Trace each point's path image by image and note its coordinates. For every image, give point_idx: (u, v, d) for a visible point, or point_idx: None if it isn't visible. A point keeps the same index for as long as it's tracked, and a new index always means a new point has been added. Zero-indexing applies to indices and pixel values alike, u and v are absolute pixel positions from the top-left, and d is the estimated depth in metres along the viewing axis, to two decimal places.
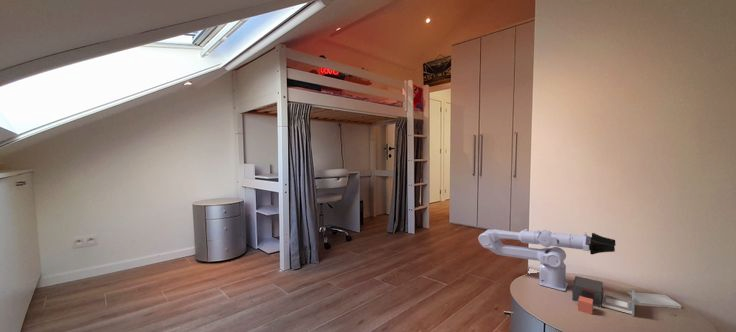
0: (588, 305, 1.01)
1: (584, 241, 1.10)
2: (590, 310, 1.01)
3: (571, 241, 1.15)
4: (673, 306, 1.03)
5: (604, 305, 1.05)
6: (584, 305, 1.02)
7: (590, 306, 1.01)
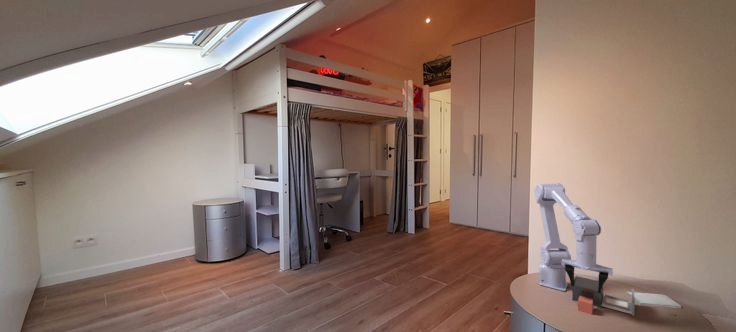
0: (588, 305, 1.01)
1: (571, 263, 1.04)
2: (590, 310, 1.01)
3: (576, 252, 1.03)
4: (673, 306, 1.03)
5: (604, 305, 1.05)
6: (583, 305, 1.02)
7: (590, 306, 1.01)
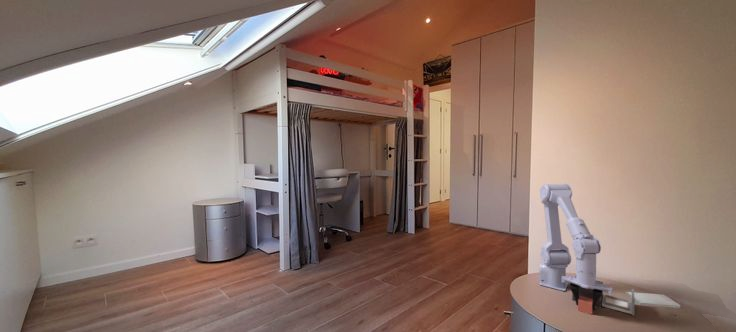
0: (589, 305, 1.01)
1: (570, 281, 1.04)
2: (590, 310, 1.01)
3: (576, 269, 1.04)
4: (672, 306, 1.03)
5: (604, 305, 1.05)
6: (584, 305, 1.02)
7: (590, 306, 1.01)
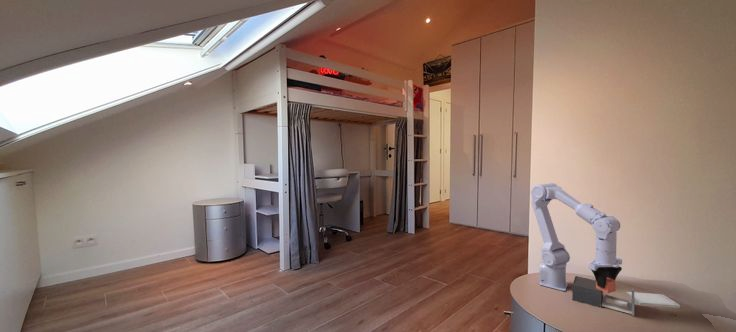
0: (613, 283, 1.02)
1: (602, 266, 1.00)
2: (614, 287, 1.02)
3: (602, 252, 1.02)
4: (672, 305, 1.03)
5: (604, 305, 1.05)
6: (611, 285, 1.02)
7: (614, 283, 1.02)
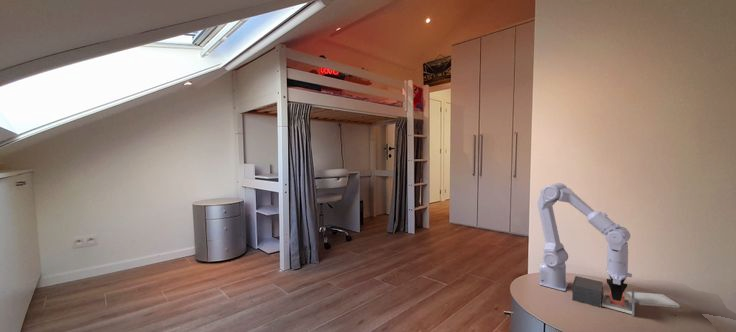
0: None
1: (623, 278, 1.00)
2: None
3: (619, 264, 1.02)
4: (671, 305, 1.03)
5: (604, 305, 1.05)
6: None
7: None
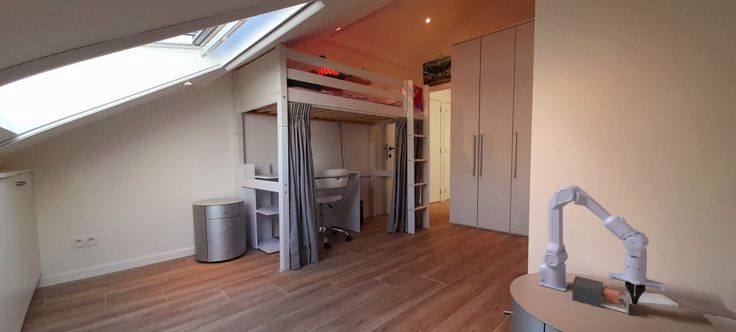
0: None
1: (619, 277, 1.03)
2: None
3: (625, 266, 1.02)
4: (671, 305, 1.03)
5: None
6: None
7: None
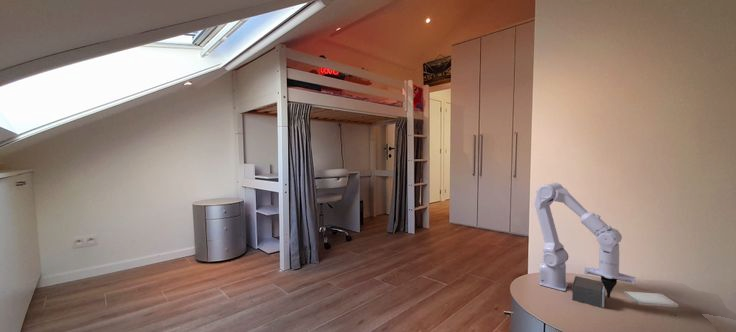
0: None
1: (593, 272, 1.08)
2: None
3: (599, 261, 1.07)
4: (670, 305, 1.04)
5: None
6: None
7: None
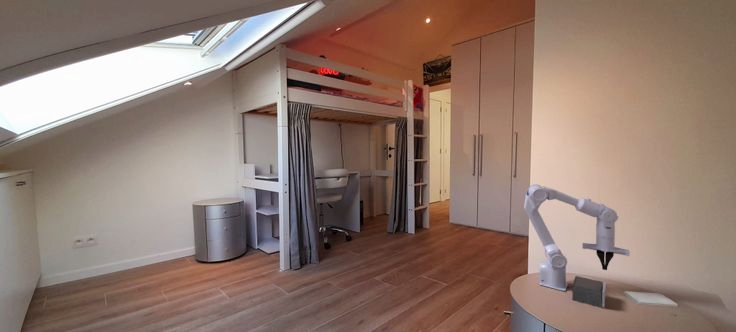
0: None
1: (591, 246, 1.16)
2: None
3: (596, 236, 1.15)
4: (670, 304, 1.04)
5: None
6: None
7: None
